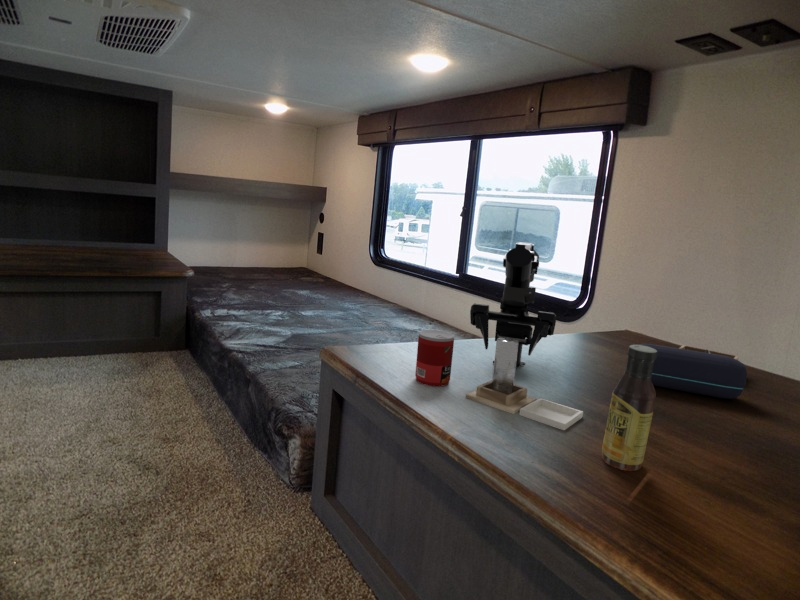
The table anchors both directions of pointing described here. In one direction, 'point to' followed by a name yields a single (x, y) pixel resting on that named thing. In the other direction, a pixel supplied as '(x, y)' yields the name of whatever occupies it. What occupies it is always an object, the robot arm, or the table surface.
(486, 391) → the wooden socket base
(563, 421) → the tray
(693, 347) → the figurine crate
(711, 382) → the portable speaker
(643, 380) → the sauce bottle
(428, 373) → the canned food
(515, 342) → the cylinder
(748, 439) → the table surface
